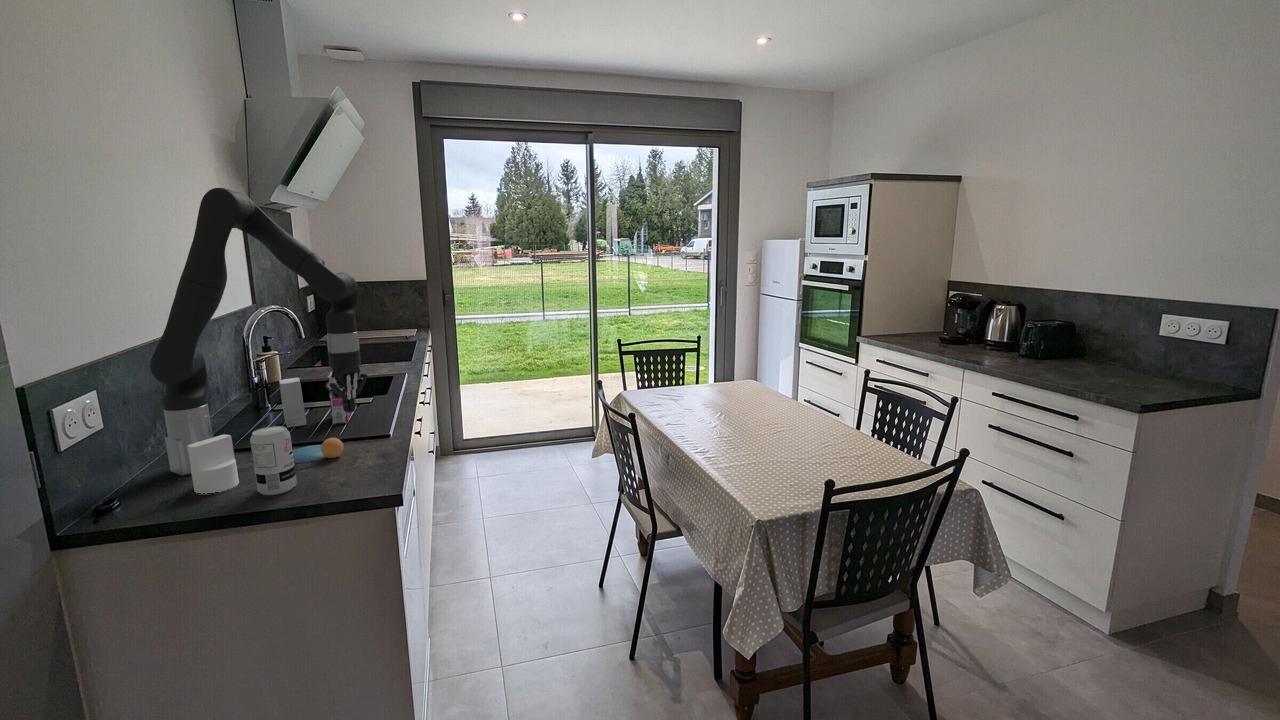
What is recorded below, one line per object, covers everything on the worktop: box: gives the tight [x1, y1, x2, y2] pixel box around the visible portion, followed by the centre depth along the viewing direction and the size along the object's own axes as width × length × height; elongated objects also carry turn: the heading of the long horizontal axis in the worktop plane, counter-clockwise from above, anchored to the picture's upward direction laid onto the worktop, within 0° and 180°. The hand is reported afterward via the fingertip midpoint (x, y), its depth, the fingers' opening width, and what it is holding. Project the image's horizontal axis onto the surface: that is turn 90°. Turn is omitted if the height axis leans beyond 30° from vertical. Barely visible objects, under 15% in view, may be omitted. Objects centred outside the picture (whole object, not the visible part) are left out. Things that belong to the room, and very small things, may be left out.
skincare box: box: [278, 377, 308, 428], centre depth 193 cm, size 8×6×15 cm
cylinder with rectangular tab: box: [187, 434, 240, 495], centre depth 144 cm, size 9×9×12 cm
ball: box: [320, 437, 344, 459], centre depth 163 cm, size 6×6×6 cm
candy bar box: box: [327, 370, 352, 425], centre depth 197 cm, size 11×5×16 cm, turn 21°
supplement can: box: [249, 425, 298, 496], centre depth 142 cm, size 8×8×15 cm
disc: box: [292, 444, 329, 464], centre depth 167 cm, size 14×14×1 cm
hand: (349, 411), depth 159 cm, fingers closed
